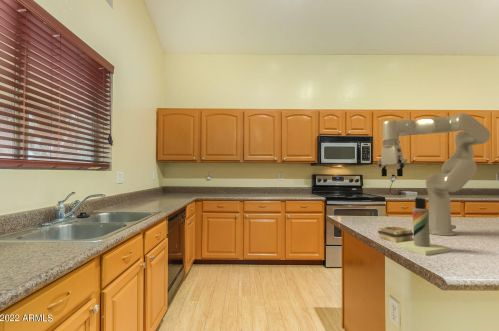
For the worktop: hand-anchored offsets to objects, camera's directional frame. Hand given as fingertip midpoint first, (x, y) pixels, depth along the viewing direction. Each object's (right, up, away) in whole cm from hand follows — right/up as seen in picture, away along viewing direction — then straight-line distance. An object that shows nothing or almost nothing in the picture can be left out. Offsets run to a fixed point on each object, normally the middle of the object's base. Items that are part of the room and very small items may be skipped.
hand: (391, 176), depth 143 cm
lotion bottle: (-3, -28, -29) cm, 40 cm away
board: (-3, -29, -29) cm, 41 cm away
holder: (-4, -30, -11) cm, 32 cm away
